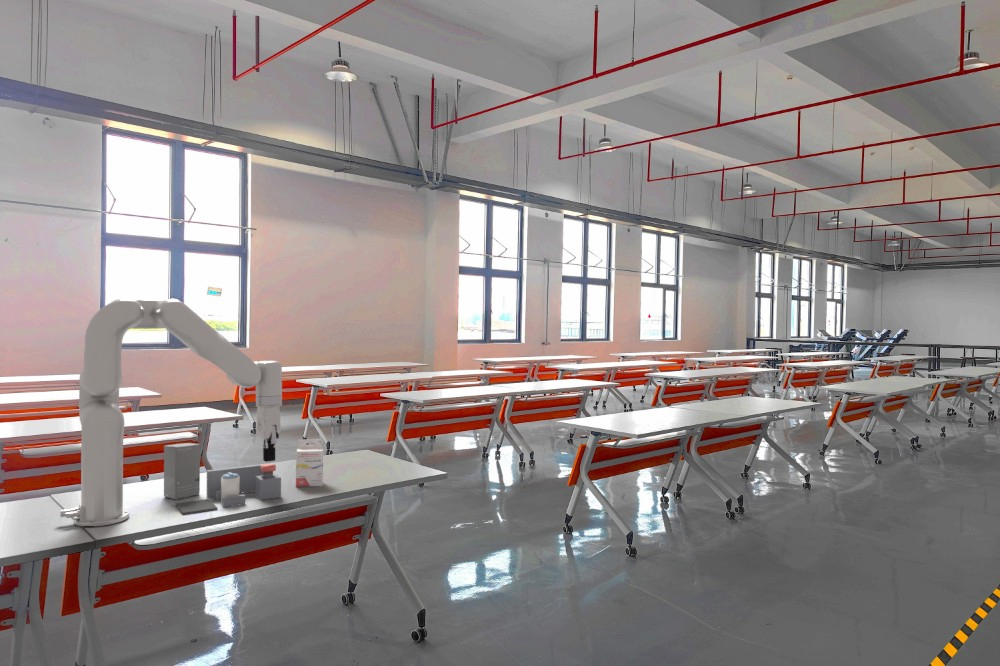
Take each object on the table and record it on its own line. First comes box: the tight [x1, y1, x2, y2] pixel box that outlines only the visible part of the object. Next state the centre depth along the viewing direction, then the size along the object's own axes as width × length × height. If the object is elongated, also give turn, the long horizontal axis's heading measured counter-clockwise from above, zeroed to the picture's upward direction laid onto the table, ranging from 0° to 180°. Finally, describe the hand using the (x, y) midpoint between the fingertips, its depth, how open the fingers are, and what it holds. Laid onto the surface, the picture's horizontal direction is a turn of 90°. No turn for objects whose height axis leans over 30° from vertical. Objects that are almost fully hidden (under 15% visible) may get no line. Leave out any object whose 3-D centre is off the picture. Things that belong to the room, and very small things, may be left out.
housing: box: [206, 462, 282, 508], centre depth 197 cm, size 19×15×8 cm
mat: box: [175, 498, 218, 516], centre depth 186 cm, size 9×11×1 cm
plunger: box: [261, 463, 277, 479], centre depth 199 cm, size 4×4×6 cm
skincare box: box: [163, 442, 201, 501], centre depth 198 cm, size 8×7×16 cm
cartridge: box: [220, 472, 240, 504], centre depth 192 cm, size 5×5×8 cm
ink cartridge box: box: [295, 438, 324, 488], centre depth 213 cm, size 9×5×15 cm, turn 105°
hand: (269, 460), depth 199 cm, fingers closed
